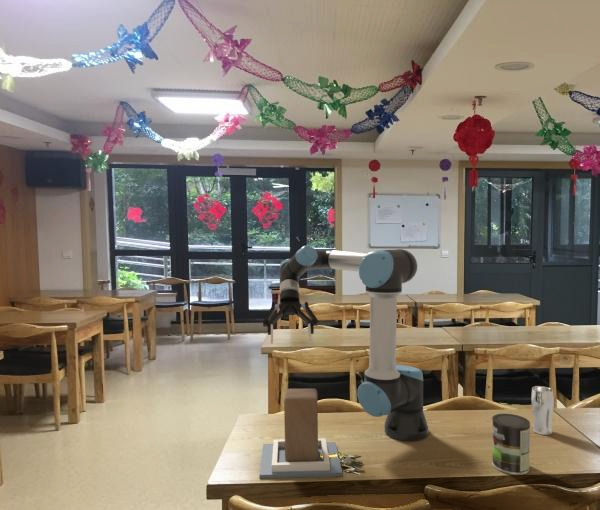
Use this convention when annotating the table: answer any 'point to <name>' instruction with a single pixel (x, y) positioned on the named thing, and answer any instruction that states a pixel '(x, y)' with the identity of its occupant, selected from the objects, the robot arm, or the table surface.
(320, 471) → the grey square frame tray
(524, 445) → the coffee can
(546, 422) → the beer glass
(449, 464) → the table surface
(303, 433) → the block
